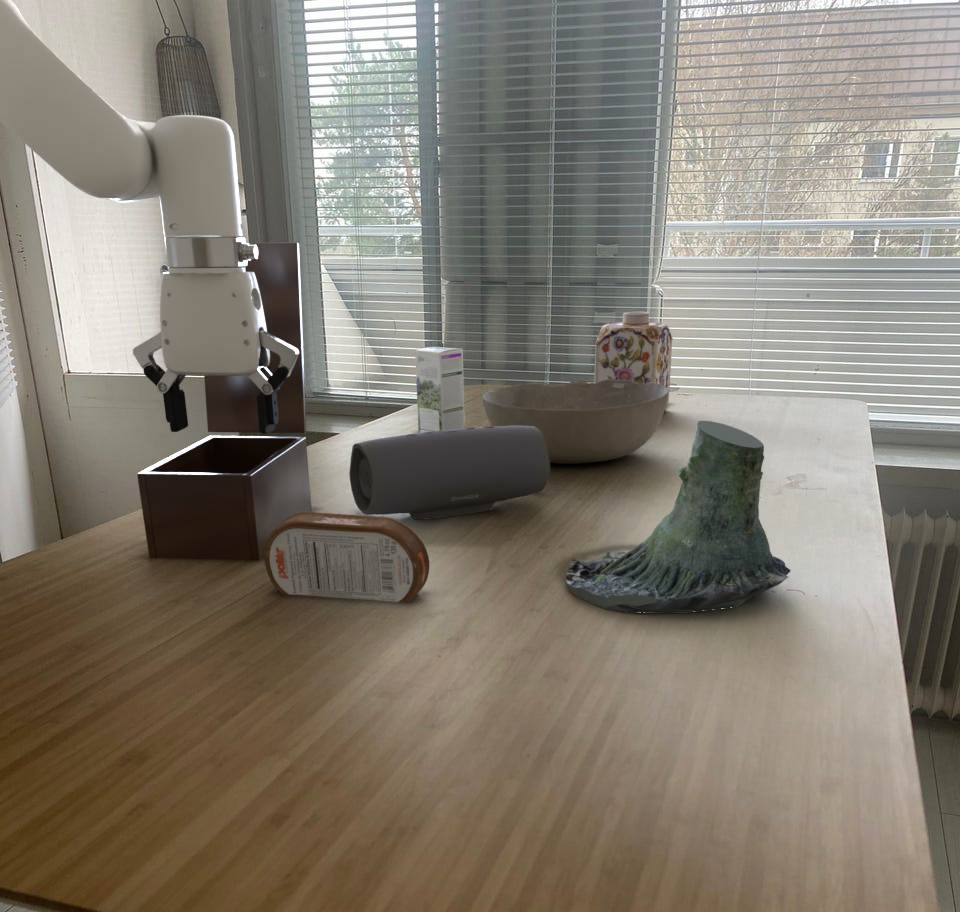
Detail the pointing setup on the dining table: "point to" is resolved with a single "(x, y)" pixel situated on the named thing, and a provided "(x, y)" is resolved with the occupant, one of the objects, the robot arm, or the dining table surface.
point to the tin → (346, 557)
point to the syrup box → (439, 388)
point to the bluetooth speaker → (448, 470)
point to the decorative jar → (634, 351)
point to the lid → (281, 300)
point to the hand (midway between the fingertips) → (223, 430)
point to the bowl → (582, 416)
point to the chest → (223, 496)
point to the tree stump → (694, 538)
